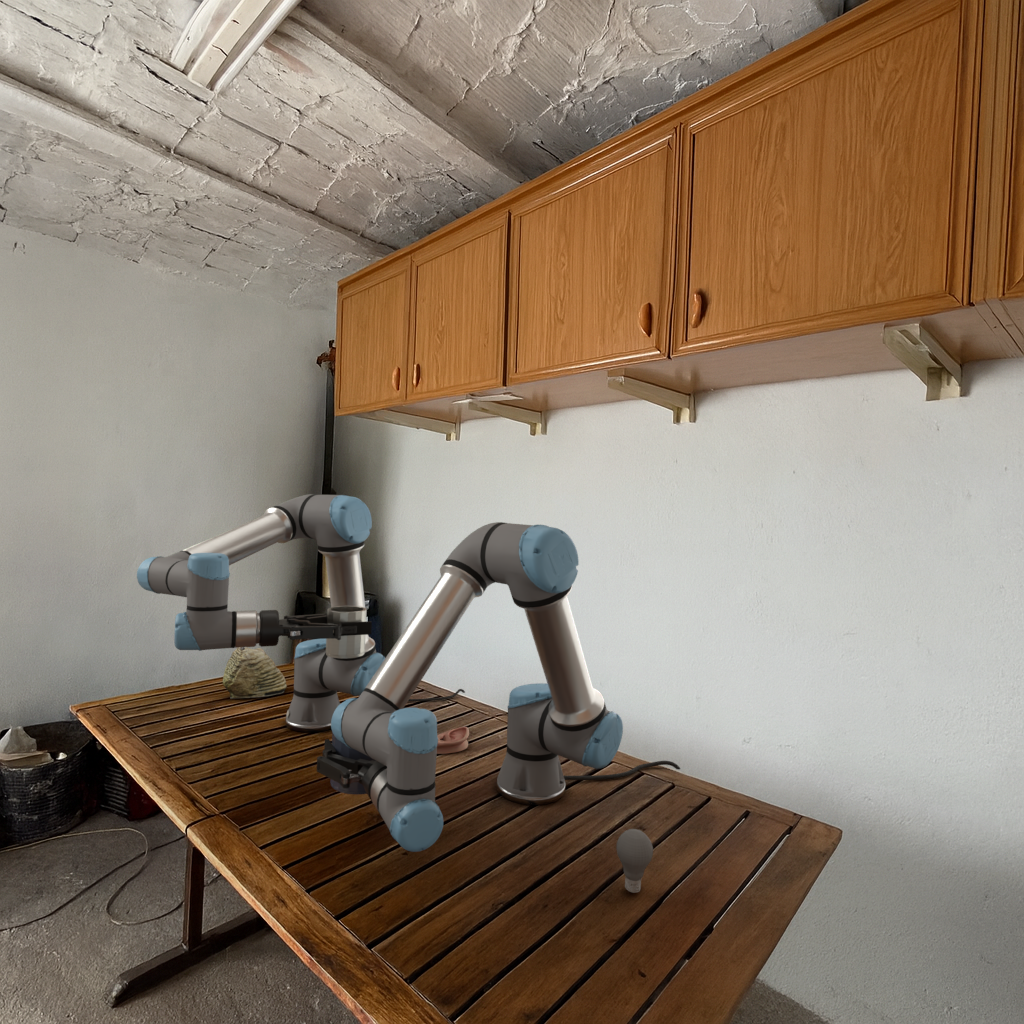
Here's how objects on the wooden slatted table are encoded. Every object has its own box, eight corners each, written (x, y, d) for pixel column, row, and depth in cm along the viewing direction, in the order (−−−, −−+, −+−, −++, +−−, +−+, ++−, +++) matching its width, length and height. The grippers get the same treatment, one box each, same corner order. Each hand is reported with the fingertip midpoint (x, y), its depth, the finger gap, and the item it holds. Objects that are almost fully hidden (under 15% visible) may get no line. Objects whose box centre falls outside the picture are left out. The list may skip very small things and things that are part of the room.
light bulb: (610, 879, 108) (613, 822, 108) (644, 879, 109) (647, 822, 109) (619, 902, 102) (622, 840, 102) (655, 901, 103) (658, 840, 103)
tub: (366, 762, 132) (368, 711, 131) (404, 780, 124) (406, 726, 124) (317, 780, 122) (320, 725, 122) (355, 800, 115) (358, 742, 115)
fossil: (218, 695, 195) (220, 647, 195) (278, 685, 208) (279, 640, 207) (228, 703, 189) (230, 653, 188) (289, 692, 201) (290, 645, 201)
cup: (349, 647, 146) (351, 604, 146) (372, 654, 141) (373, 609, 141) (318, 653, 140) (320, 608, 140) (341, 660, 135) (343, 613, 134)
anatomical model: (410, 735, 159) (425, 720, 170) (409, 751, 159) (424, 734, 171) (461, 741, 157) (473, 725, 168) (460, 757, 157) (472, 740, 168)
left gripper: (254, 635, 142) (356, 630, 152) (261, 658, 123) (377, 651, 133) (255, 602, 142) (357, 599, 152) (262, 620, 123) (378, 615, 133)
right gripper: (317, 823, 101) (294, 770, 121) (456, 796, 113) (415, 751, 132) (319, 777, 101) (296, 731, 120) (458, 754, 113) (417, 715, 132)
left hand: (366, 623), depth 142 cm, fingers closed on cup, 8 cm apart
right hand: (358, 741), depth 126 cm, fingers closed on tub, 12 cm apart
